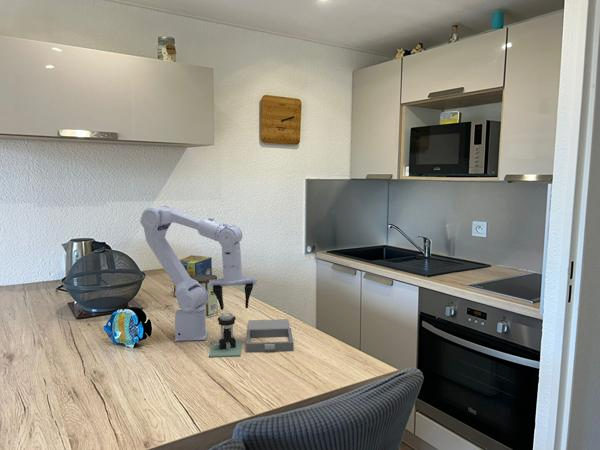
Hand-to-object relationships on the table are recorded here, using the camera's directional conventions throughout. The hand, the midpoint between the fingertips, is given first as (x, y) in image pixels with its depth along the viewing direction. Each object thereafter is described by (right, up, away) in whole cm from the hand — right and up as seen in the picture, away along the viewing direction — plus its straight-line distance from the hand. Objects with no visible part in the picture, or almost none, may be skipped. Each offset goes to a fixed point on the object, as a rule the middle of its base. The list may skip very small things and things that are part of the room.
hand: (234, 308), depth 143 cm
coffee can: (-16, -8, +28) cm, 33 cm away
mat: (-2, -11, -6) cm, 13 cm away
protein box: (-26, -4, +57) cm, 63 cm away
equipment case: (+11, -10, +5) cm, 15 cm away
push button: (-2, -11, -6) cm, 13 cm away
